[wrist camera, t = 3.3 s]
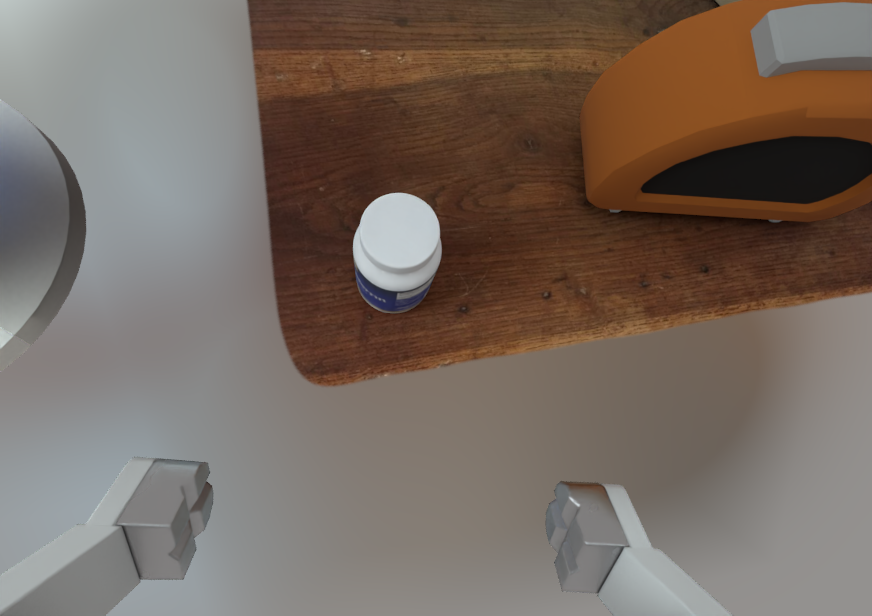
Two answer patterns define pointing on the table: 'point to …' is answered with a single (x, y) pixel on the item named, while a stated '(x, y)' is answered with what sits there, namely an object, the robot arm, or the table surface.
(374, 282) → the pill bottle
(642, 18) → the table surface
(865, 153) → the alarm clock
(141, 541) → the robot arm
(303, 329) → the table surface
